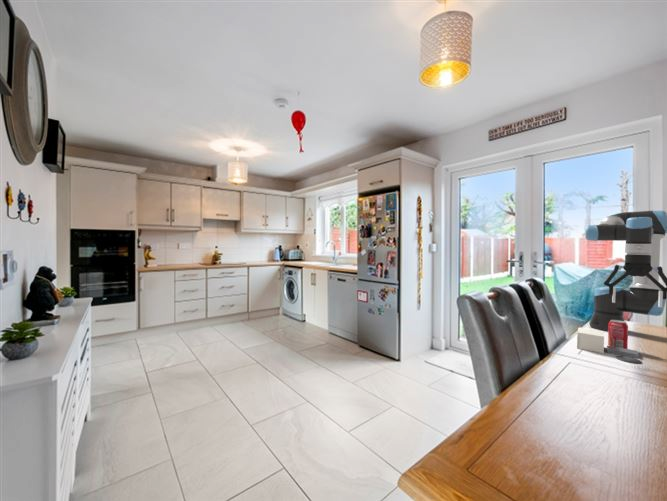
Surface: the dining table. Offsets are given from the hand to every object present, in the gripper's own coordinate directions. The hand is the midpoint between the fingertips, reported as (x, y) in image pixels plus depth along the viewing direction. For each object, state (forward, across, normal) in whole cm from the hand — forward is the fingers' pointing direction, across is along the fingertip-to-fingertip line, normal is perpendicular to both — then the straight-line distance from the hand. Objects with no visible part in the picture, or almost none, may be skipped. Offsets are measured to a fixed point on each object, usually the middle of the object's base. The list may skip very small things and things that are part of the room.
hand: (636, 304), depth 121 cm
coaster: (+20, -3, -13) cm, 24 cm away
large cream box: (+20, -14, -4) cm, 25 cm away
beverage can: (+21, -5, +4) cm, 22 cm away
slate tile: (+21, -4, -4) cm, 22 cm away
